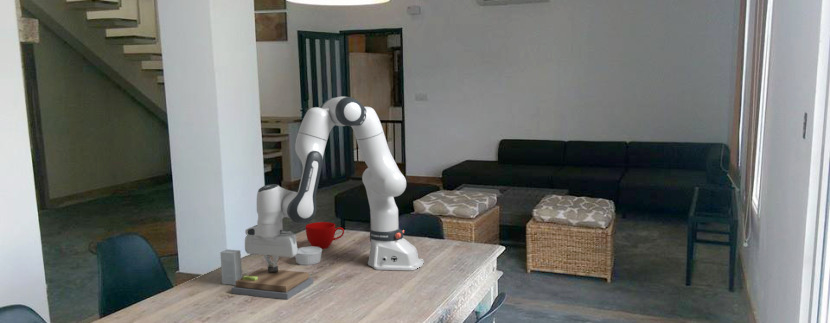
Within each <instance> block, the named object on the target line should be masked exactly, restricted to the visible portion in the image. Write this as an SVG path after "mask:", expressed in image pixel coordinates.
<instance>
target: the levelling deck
mask: <svg viewBox="0 0 830 323" xmlns="http://www.w3.org/2000/svg"><path fill="white" fill-rule="evenodd" d="M308 278H310V272H308V271H306V272H304V271H294V270H293V271H292V270H287V269H286V270H283V269H279V266H278V265H277V266H276V267H275V268H273V267H267V268H266V267H265V268H262V267H261V268H259V269H257V270H255V271H253V272H251V273H249V274H247V275H244V276H242V278H241V279H239V280H237V281H236V285H235V286H236V287H243V288H253V289H262V290H271V291H281V292H287V291H289V290H290V289H292V288H294V287H295V286H297V285H299V284H300V283H302V282H303V281H305V280H307V279H308Z"/></svg>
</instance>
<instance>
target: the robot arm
mask: <svg viewBox="0 0 830 323" xmlns="http://www.w3.org/2000/svg"><path fill="white" fill-rule="evenodd" d="M335 126H336V127H346V126H347V127H351V129H352V130H353V133H354V136H355V140H356V143H357V145H358V149H359V153H360V156H361V159H362V160H363V161H364V162H365V164H366V166H367V168H366V169H365V170H364V171H363V173H362V176H361V178H362V179H361V180H362V183H363V185H364V187H365V191H366V196H367V200H368V205H369V210H370V211H369V214H370V229H369V242H370V247H369V248H370V250H369V256H368V261H367V264H368V266H369V267H372V268H373V269H374V270H378V271H380V270H382V271H390V270H391V271H415V270H417V268H418V269H420V268H421V267H422V266H424V264H423V263H425V261H424V259H423V258H419V255H418V254H419V253H418V250H417V248H416V246H414V245H413V244H412V243H411V242H409V241H408V240H407V239H405V238H404V234H405V230H404V229H403V230H402V229H401V228H400V227H399V208H398V206H397V204H396V201H395V198H396V197H399V196H401V195H402V194H403V193H404V192H405V191H406V188H407V180H406V177H405V176H404V174H403V173H402V172H401V170H400V168H399V167H398V165H397V163H396V160H395V159H394V157H393V155H392V152H391V150H390V148H389V145H388V142H387V139H386V136H385V132H384V128H383V125H382V123H381V120H380V119H379V116H378V114H377V112H376V110H375V109H374V108H372V107H371V106H363V104H362V103H361V102H360V100H358V99H356V98H355V97H351V96H337V97H331V98H328V99H327V100H326V101H324V103H322V104H321V106H320V107H317V106H315V107H310V108H309V109H308V110H307V111H306V113H305V114H304V117H303V119H302V120H301V123H300V127H299V128H298V131H297V132H298V133H297V136H296V140H295V146H294V151H295V153H296V155H297V157H298V159H299V160H300V162H301V166H302V172H301V177H300V178H301V179H300V182H299V186H298V190H297V192H296V191H292V190H288V189H286V188H283V187H281V186H280V185H279V184H275V183H273V184H266V185H263V186H261V187H260V188H259V189H258V191H257V192H256V193H257V194H256V213H257V222H256V223H257V224H255V225H254V226H251V227H248V228H246V229H245V238H244V251H245V253H246V254H249V255H257V256H258V255H260V256H263V259H264V260H265V262H266V264H267V265H266V267H267V268H268V267H273V268H275V267H276V266H278V264H277V262H278V260H279V259H280V257H282V258H283V257H284V258H294V257H295V256H296V255H297V253H298V245H297V235H296V233H294V232H293V231H292V230H291V231H290V230H289V231H288V230H284V229H283V228H284V227H283V226H284V225H283V224H284V223H283V219H284V218H288V219H290V220H291V221H292V222H294V223H295V224H298V225H304V224H309V222H311V221H312V220H313V219H314V217H315V215H316V214H317V191H318V186H319V182H320V178H321V172H322V168H323V161H324V160H323V159H324V154H325V151H326V150H325V149H326V146H327V142H328V139H329V136H330V132H331V130H332V129H333V128H334V127H335ZM271 256H272V259H273V261H272V259H271V258H270V257H271ZM419 267H420V268H419Z"/></svg>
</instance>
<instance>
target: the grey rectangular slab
mask: <svg viewBox="0 0 830 323" xmlns="http://www.w3.org/2000/svg"><path fill="white" fill-rule="evenodd" d="M312 284H314V278H313V277H309V278H308V279H307V280H305V281H303V282H302V283H300V284H299V285H297V286H295V287H294V288H292V289H290V290H289V291H287V292H281V291H271V290H262V289H253V288H243V287H236V285H233V286H232V287H231V294H233V295H234V294H236V295H243V296H253V297H260V298H271V299H279V300H289V299H291V298H292V297H294V296H295V295H298V294H299V293H301V292H302V291H303V290H305V289H306V288H309V287H310V286H311V285H312Z"/></svg>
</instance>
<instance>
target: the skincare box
mask: <svg viewBox="0 0 830 323" xmlns="http://www.w3.org/2000/svg"><path fill="white" fill-rule="evenodd" d="M219 254H220V265H221V283H222V284H223V285H232V286H236V281H237V280H239V279H241V278H243V273H242V256H241V250H239V249H238V250H236V249H225V250H223V251H220V252H219Z"/></svg>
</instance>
